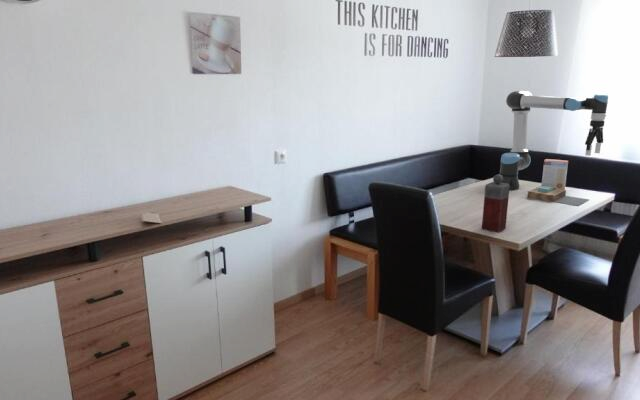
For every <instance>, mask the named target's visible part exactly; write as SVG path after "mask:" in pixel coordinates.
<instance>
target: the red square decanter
mask: <svg viewBox="0 0 640 400" xmlns="http://www.w3.org/2000/svg"><path fill="white" fill-rule="evenodd" d="M492 179H493V181H491V182H489V183H486V184H485V186H484V198H483V210H482V221H481V230H483V231H489V232H493V233H498V234H499V233H501V232H503V231H504V230H506V227H507V218H508V217H507V216H508V207H509V198H510V197H509V196H510V190H509V188H510V185H509V184H507V183H501V182H502V181H503V177H502V175H500V173H499V174H496V175H494V176H493V177H492Z"/></svg>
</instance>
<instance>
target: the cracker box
mask: <svg viewBox="0 0 640 400" xmlns="http://www.w3.org/2000/svg"><path fill="white" fill-rule="evenodd" d="M568 165H569V160H562V159H550V158H546V159H544V161H543V170H542V179H541V184H540V185H541V186H550V187H553V188H556V189H562V190H566V185H567V174H568Z"/></svg>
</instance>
